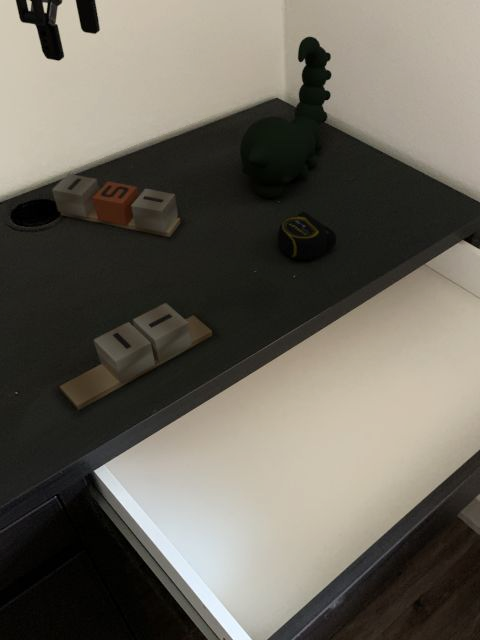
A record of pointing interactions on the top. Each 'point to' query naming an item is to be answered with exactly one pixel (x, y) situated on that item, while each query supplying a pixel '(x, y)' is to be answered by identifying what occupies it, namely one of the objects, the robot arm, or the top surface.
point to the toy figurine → (289, 130)
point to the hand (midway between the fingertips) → (73, 45)
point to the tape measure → (305, 237)
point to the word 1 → (148, 209)
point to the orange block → (115, 202)
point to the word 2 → (135, 352)
